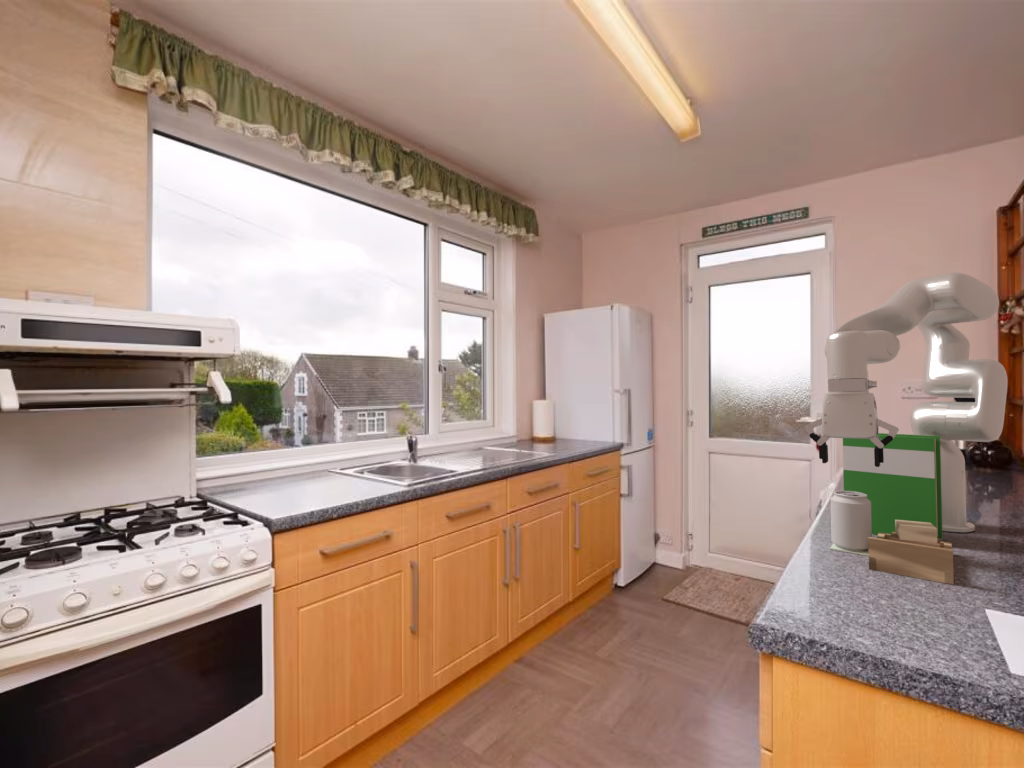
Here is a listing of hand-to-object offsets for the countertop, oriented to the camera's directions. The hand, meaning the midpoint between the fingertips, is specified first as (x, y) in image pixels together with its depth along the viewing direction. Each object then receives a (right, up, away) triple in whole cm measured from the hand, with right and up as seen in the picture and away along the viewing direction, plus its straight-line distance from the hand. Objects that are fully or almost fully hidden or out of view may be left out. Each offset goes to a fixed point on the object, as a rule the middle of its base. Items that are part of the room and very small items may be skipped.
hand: (850, 464), depth 110 cm
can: (0, -19, 0) cm, 19 cm away
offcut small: (+10, -15, -6) cm, 19 cm away
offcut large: (+10, -19, -6) cm, 22 cm away
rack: (+6, -18, -9) cm, 21 cm away
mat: (0, -19, 0) cm, 19 cm away
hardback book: (+17, -19, +10) cm, 27 cm away
